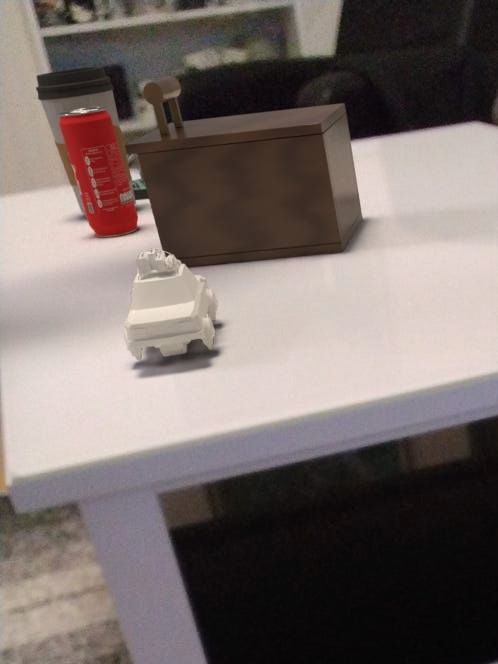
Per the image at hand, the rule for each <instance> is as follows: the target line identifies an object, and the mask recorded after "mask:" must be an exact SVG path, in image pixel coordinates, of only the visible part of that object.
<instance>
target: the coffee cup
mask: <svg viewBox="0 0 498 664" xmlns="http://www.w3.org/2000/svg"><path fill="white" fill-rule="evenodd" d="M36 81H37V86H36V87H35V90H36V92H37V97H38V98H37V99H38V101H40V103H41V106H42V108H43V111H44V113H45V116H46V119H47V122H48V125H49V127H50V130H51V133H52V135H53V138H54V143H55V147H56V149H57V152H58V154H59V158H60V160H61V162H62V165H63V168H64V170H65V174H66V176H67V179H68V181H69V184H70V186H71V187H72V189H73V192H74V193H73V194H74V196H75V198H76V201H77V203H78V206H79V209H80V211H81V212H80V213H82V214H84V216H85V218H86V219H87V215H86V212H85V209H84V205H83V202H82V199H81V195H80V192H79V189H78V185H77V182H76V179H75V175H74V172H73V169H72V165H71V162H70V158H69V155H68V152H67V148H66V145H65V142H64V138H63V135H62V132H61V128H60V125H59V122H60V116H59V114H60V113H62V112H66V111H71V110H76V109H83V108H90V107H106V111H107V112H108V114H109V115H110V116H111V120H112V123H113V127H114V131H115V134H116V138H117V142H118V145H119V149H120V153H121V156H122V160H123V164H124V167H125V171H126V175H127V178H128V182H129V186H130V189H131V193H132V197H133V200H134V204H135V205H136V204H137V201H136V199H135V196H134V191H133V186H132V182H131V177H132V174H131V168H130V163H129V164H128V159H127V153H126V149H125V145H126V144H125V141H124V135H123V131H122V128H121V124H120V119H119V116H118V110H117V106H116V105H117V104H116V101H115V96H114V92H113V90H115V88H114V86H113V84H112V82H111V77H110V76H107V74H106V71H105V69H104V66H89V67H80V68H72V69H64V70H59V71H52V72H46V73H42V74H37V75H36Z"/></svg>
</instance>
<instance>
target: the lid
mask: <svg viewBox="0 0 498 664" xmlns="http://www.w3.org/2000/svg"><path fill="white" fill-rule="evenodd" d="M181 90H182V87H181V83H180V82H179V80H178V79H177V77H174V76H172V75H167V76H164V77H161V78H157V79H155V80H152V81H150V82H147V83H146V84H145V85H144V86H143V89H142V95H143V98H144V100H145V101H146V102H147V103H148V104H150V105H151V106H152V108H153V111H154V115H155V119H156V123H157V127H158V128H157V129H155V130H152V131H150V132H148V133H146V134H144V135H141V136H140V137H138V138H136V139H134V140H132V141H130V142H128V143H125V144H124V145H125V150H126V154H127V155H130V156H131V155H132V154H139V153H148V152H157V151H166V150H175V149H184V148H193V147H202V146H211V145H220V144H229V143H238V142H247V141H256V140H265V139H274V138H283V137H292V136H301V135H310V134H319V133H323V132H324V131H325V130H326V129H327V128H328V127H330V126H331V125H332V124H333V123H334V122H335V121H336V120H337V119H339V118H340V117H341V116H342V115H343V114H344V113H347V110H346V103H334V104H333V103H332V104H325V105H324V104H323V105H316V106H307V107H298V108H297V107H296V108H289V109H281V110H280V109H279V110H272V111H271V110H270V111H262V112H254V113H246V114H245V113H244V114H235V115H227V116H219V117H211V118H210V117H209V118H202V119H201V118H200V119H193V120H184V121H183V119H182V114H181V109H180V105H179V101H178V98H177V97H179V95H180V94H181ZM165 102H167V103H168V106H169V110H170V114H171V118H172V122H169V123H168V121H167V117H166V113H165V109H164V104H163V103H165Z"/></svg>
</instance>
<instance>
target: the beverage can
mask: <svg viewBox="0 0 498 664" xmlns="http://www.w3.org/2000/svg"><path fill="white" fill-rule="evenodd" d="M59 116H60V122H59V125H60V128H61V132H62V135H63V138H64V142H65V145H66V148H67V152H68V155H69V158H70V162H71V165H72V169H73V172H74V175H75V179H76V182H77V185H78V189H79V192H80V195H81V199H82V202H83V205H84V209H85V212H86V215H87V218H86V219H87V222H88V225H89V227H90V228H91V229H92V230H93V232H94V234H95V235H96V237H100V238H111V237H118V236H122V235H123V236H124V235H127V234H130V233H133V232H135V231H138V222H139V215H138V212H137V211H138V210H137V208H136V204H134V200H133V197H132V193H131V189H130V186H129V182H128V178H127V175H126V171H125V167H124V164H123V160H122V156H121V153H120V149H119V145H118V142H117V138H116V134H115V131H114V127H113V123H112V120H111V116H110V115H109V114H108V112H107V111H106V107H90V108H83V109H76V110H71V111H66V112H62V113H60V114H59Z"/></svg>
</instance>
